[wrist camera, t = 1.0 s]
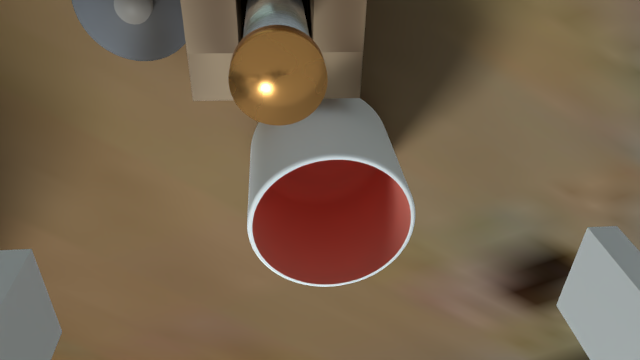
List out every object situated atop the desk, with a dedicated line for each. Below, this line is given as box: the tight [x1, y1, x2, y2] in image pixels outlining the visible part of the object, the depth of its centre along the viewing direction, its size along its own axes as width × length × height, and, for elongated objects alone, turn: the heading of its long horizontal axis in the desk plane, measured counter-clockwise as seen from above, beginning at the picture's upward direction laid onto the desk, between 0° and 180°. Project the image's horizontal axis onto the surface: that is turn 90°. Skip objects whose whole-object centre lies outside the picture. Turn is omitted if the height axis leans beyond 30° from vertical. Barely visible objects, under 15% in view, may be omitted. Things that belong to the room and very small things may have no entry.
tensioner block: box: [72, 0, 367, 101], centre depth 30 cm, size 16×10×5 cm, turn 89°
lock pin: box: [228, 0, 328, 126], centre depth 27 cm, size 4×4×14 cm
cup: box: [247, 98, 415, 287], centre depth 35 cm, size 10×10×10 cm
